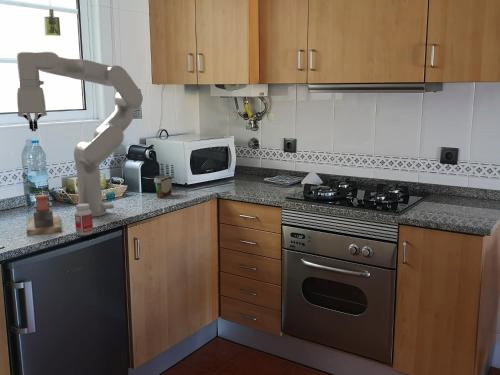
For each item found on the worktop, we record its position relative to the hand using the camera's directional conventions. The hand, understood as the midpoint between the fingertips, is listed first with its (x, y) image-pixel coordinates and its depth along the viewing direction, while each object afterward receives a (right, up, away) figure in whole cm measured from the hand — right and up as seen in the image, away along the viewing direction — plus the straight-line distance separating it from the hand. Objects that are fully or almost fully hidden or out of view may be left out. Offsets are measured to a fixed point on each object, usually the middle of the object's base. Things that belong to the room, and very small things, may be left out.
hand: (33, 131), depth 212 cm
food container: (+42, -27, +55) cm, 74 cm away
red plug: (+7, -34, -8) cm, 36 cm away
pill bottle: (+24, -40, -13) cm, 48 cm away
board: (+5, -38, -2) cm, 38 cm away
